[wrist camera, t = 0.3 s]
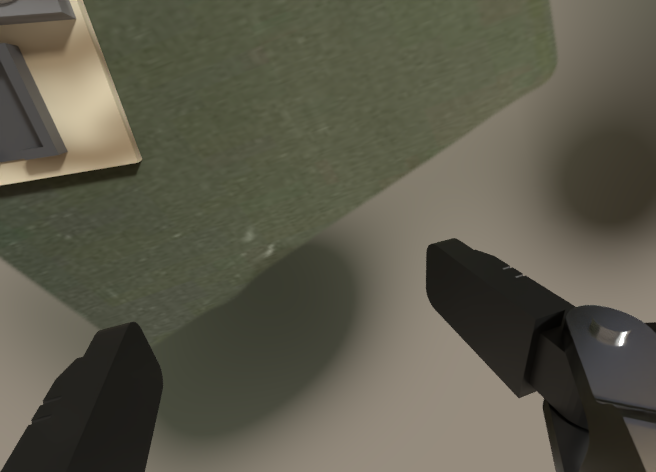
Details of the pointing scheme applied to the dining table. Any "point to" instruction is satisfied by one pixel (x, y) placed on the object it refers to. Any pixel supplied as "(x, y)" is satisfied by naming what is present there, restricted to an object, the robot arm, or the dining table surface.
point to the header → (23, 112)
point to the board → (67, 89)
